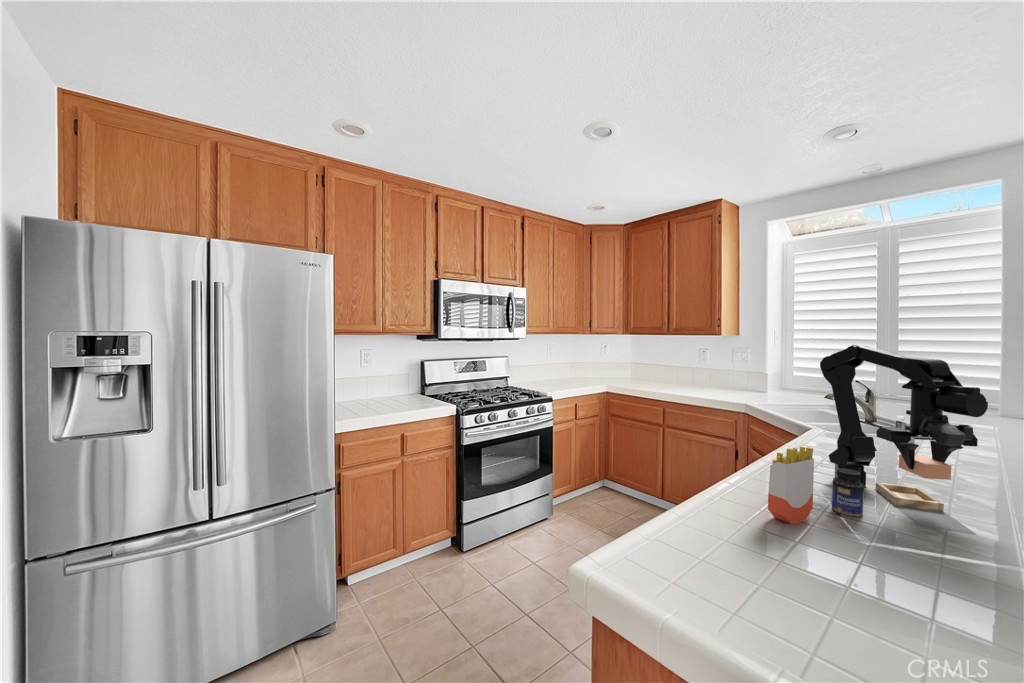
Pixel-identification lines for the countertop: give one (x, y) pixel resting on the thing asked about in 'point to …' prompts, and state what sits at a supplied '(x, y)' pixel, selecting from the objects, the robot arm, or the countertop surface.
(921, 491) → the tray
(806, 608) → the countertop surface
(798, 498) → the french fries container
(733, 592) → the countertop surface
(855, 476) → the pill bottle
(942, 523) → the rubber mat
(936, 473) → the card deck block
